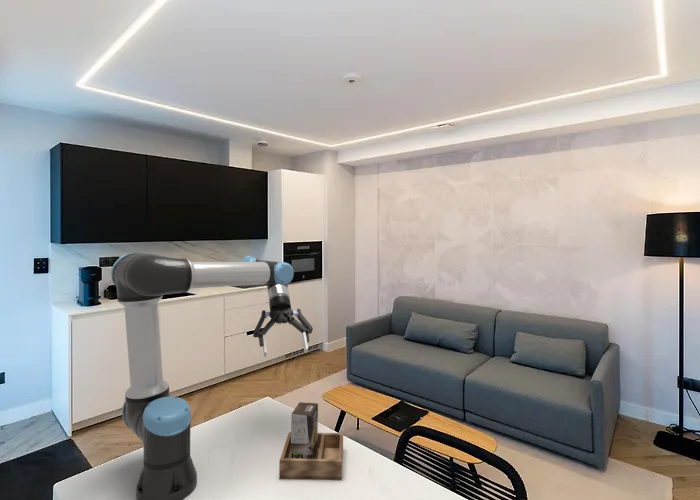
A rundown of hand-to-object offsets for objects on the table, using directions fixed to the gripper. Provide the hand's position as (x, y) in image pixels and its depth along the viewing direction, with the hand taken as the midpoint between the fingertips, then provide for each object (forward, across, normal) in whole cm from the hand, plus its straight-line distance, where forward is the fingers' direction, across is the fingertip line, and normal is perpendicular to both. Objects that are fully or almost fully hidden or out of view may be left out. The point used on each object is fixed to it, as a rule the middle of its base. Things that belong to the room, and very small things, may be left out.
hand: (286, 352), depth 126 cm
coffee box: (+29, -4, -14) cm, 33 cm away
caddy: (+31, -7, -14) cm, 34 cm away
